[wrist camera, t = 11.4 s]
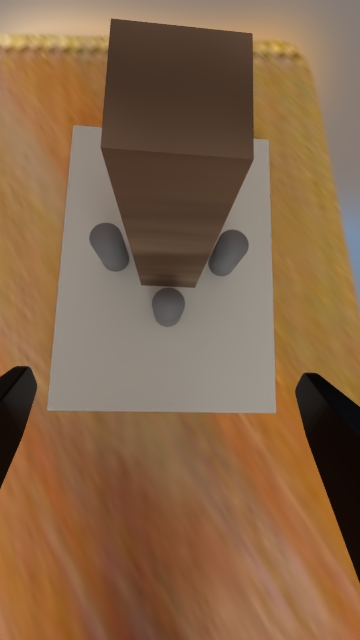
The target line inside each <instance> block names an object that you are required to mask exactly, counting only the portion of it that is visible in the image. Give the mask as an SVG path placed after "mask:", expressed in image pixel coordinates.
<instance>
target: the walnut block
mask: <svg viewBox="0 0 360 640" xmlns="http://www.w3.org/2000/svg"><path fill="white" fill-rule="evenodd" d="M100 148H101V151H102V155H103V158H104V161H105V165H106V168H107V171H108V175H109V178H110V181H111V185H112V188H113V192H114V195H115V198H116V202H117V205H118V208H119V212H120V215H121V218H122V222H123V225H124V229H125V232H126V235H127V239H128V242H129V245H130V249H131V252H132V255H133V259H134V262H135V265H136V269H137V272H138V276H139V279H140V282H141V285H144V286H165V287H187V288H195V287H196V284H197V282H198V280H199V278H200V276H201V273H202V271H203V269H204V267H205V265H206V263H207V260H208V258H209V256H210V254H211V252H212V249H213V247H214V245H215V243H216V241H217V239H218V236H219V234H220V232H221V230H222V228H223V225H224V223H225V221H226V219H227V217H228V215H229V212H230V210H231V208H232V206H233V204H234V201H235V199H236V197H237V195H238V193H239V191H240V188H241V186H242V184H243V182H244V180H245V177H246V175H247V173H248V171H249V169H250V167H251V164H252V162H253V160H254V134H253V42H252V34H251V33H242V32H233V31H223V30H213V29H203V28H195V27H186V26H176V25H167V24H157V23H147V22H137V21H129V20H119V19H111V26H110V38H109V50H108V62H107V74H106V86H105V98H104V110H103V123H102V135H101V147H100Z"/></svg>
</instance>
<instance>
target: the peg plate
mask: <svg viewBox="0 0 360 640" xmlns="http://www.w3.org/2000/svg"><path fill="white" fill-rule="evenodd" d="M101 135H102V127H92V126H79V125H73V134H72V144H71V155H70V166H69V177H68V188H67V198H66V209H65V220H64V231H63V242H62V253H61V263H60V274H59V285H58V296H57V307H56V317H55V328H54V339H53V350H52V361H51V371H50V382H49V393H48V404H47V411H128V412H214V413H276V389H275V353H274V316H273V280H272V244H271V207H270V171H269V140H264V139H254V160H253V162H252V164H251V167H250V169H249V171H248V173H247V175H246V177H245V180H244V182H243V184H242V186H241V188H240V191H239V193H238V195H237V197H236V199H235V201H234V204H233V206H232V208H231V210H230V212H229V215H228V217H227V219H226V221H225V223H224V225H223V228H222V230H221V232H220V234H219V236H218V239H217V241H216V243H215V245H214V247H213V249H212V252H211V254H210V256H209V258H208V260H207V263H206V265H205V267H204V269H203V271H202V273H201V276H200V278H199V280H198V282H197V284H196V287H195V288H187V287H165V286H144V285H141V282H140V279H139V276H138V272H137V269H136V265H135V262H134V259H133V255H132V252H131V249H130V245H129V242H128V239H127V235H126V232H125V229H124V225H123V222H122V218H121V215H120V212H119V208H118V205H117V202H116V198H115V195H114V192H113V188H112V185H111V181H110V178H109V175H108V171H107V168H106V165H105V161H104V158H103V155H102V151H101V148H100V147H101Z"/></svg>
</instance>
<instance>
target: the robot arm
mask: <svg viewBox="0 0 360 640" xmlns="http://www.w3.org/2000/svg"><path fill="white" fill-rule="evenodd" d="M36 391H37V382H36V380H35V377H34V375H33V372H32V370H31V368H30V367H28V366H16V367H14V368H12V369H11V370H9V371H8V372H7V373H5V374H4V375H2V376H1V377H0V488H1V486H2V483H3V481H4V479H5V476H6V474H7V472H8V469H9V467H10V464H11V462H12V460H13V457H14V455H15V453H16V450H17V448H18V446H19V443H20V441H21V438H22V436H23V433H24V430H25V427H26V424H27V420H28V417H29V414H30V410H31V407H32V404H33V401H34V397H35V394H36ZM295 394H296V399H297V402H298V406H299V410H300V414H301V418H302V422H303V426H304V430H305V434H306V437H307V440H308V443H309V446H310V449H311V452H312V454H313V457H314V460H315V462H316V465H317V468H318V471H319V473H320V476H321V479H322V482H323V484H324V487H325V490H326V492H327V495H328V498H329V501H330V503H331V506H332V509H333V511H334V514H335V517H336V520H337V522H338V525H339V528H340V531H341V533H342V536H343V539H344V541H345V544H346V547H347V550H348V552H349V555H350V558H351V561H352V563H353V566H354V569H355V571H356V574H357V577H358V580H359V582H360V407H359V406H358V405H357V404H355V403H354V402H353V401H352V400H350V399H349V398H348V397H347V396H345V395H344V394H343V393H342V392H340V391H339V390H338V389H336V388H335V387H334V386H333V385H331V384H330V383H329V382H328V381H326V380H325V379H324V378H323V377H321V376H320V375H319V374H317V373H304V374H303V375H302V376H301V378H300V381H299V383H298V385H297V387H296V390H295Z"/></svg>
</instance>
